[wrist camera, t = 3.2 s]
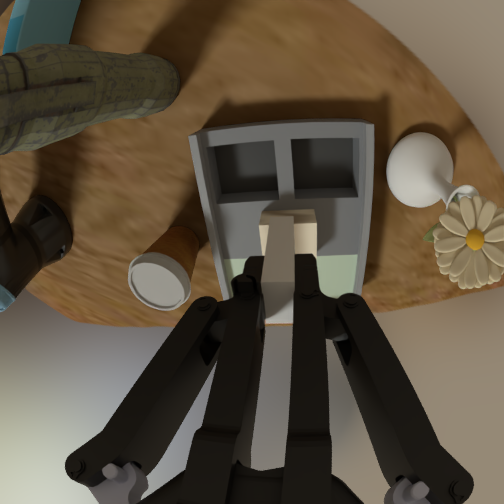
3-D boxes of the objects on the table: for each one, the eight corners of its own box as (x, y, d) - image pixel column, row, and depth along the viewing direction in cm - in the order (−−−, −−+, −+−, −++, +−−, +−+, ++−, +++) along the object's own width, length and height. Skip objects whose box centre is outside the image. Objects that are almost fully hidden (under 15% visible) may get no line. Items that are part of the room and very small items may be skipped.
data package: (66, -5, 22) (18, -10, 12) (84, -9, 22) (36, -18, 12) (50, 55, 28) (0, 61, 18) (67, 53, 29) (15, 57, 19)
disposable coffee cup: (161, 209, 43) (126, 249, 33) (215, 228, 44) (194, 275, 34) (152, 253, 49) (124, 298, 39) (201, 272, 50) (181, 321, 40)
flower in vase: (441, 124, 30) (568, 192, 9) (449, 193, 35) (543, 297, 15) (364, 141, 34) (460, 228, 13) (379, 212, 39) (446, 342, 19)
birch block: (266, 255, 41) (264, 271, 38) (261, 211, 37) (258, 225, 34) (314, 253, 40) (316, 269, 37) (314, 209, 36) (316, 222, 33)
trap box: (233, 295, 52) (226, 323, 46) (201, 129, 36) (184, 138, 30) (352, 292, 48) (358, 320, 42) (362, 118, 32) (377, 126, 26)
